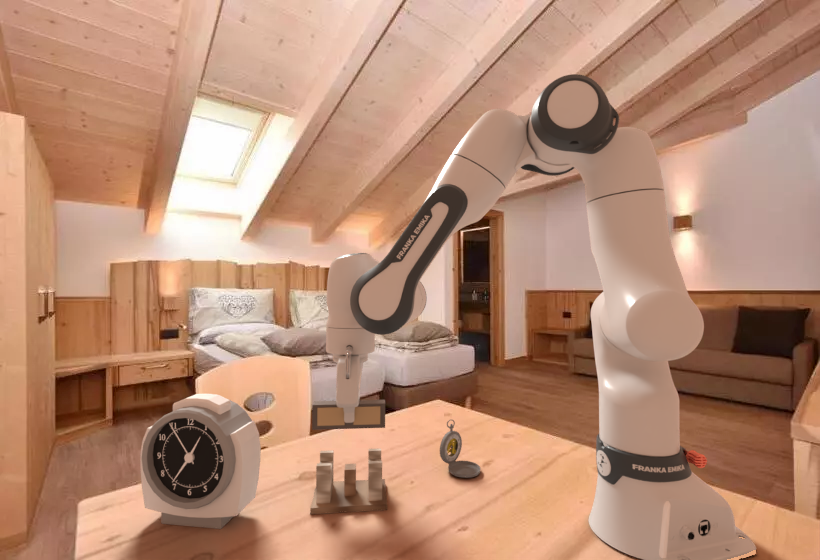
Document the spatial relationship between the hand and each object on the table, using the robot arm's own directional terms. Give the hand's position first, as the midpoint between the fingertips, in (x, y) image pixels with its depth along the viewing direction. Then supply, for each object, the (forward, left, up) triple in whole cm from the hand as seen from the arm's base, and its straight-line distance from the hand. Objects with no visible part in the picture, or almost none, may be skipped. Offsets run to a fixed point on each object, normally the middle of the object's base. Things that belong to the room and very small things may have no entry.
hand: (349, 417), depth 73 cm
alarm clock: (+24, +3, -15) cm, 29 cm away
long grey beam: (0, 0, -2) cm, 2 cm away
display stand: (0, 0, -15) cm, 15 cm away
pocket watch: (-23, -9, -15) cm, 29 cm away
